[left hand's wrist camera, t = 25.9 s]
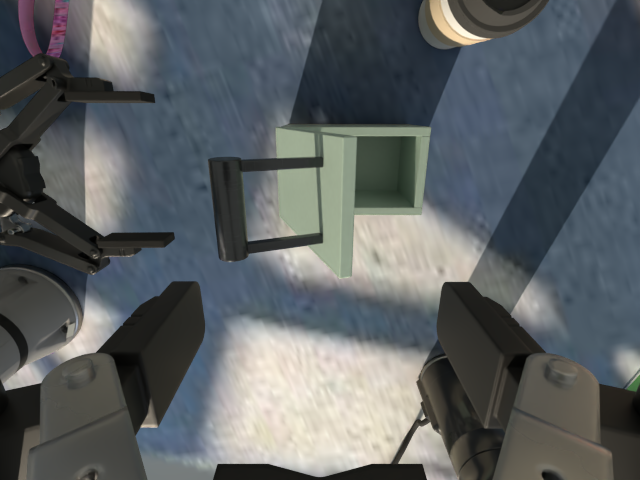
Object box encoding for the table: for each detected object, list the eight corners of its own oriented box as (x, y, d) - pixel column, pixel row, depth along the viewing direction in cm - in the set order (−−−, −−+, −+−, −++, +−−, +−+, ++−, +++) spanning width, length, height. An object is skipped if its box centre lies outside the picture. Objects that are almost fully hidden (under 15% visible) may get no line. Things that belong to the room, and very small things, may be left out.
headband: (37, -49, 38) (21, -58, 36) (73, -33, 38) (60, -41, 36) (28, 53, 41) (13, 50, 39) (62, 66, 42) (49, 64, 40)
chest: (407, 124, 44) (431, 126, 35) (401, 195, 48) (421, 215, 38) (288, 123, 44) (280, 126, 35) (290, 195, 48) (283, 215, 38)
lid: (357, 136, 20) (209, 139, 17) (352, 277, 24) (226, 299, 21) (284, 126, 35) (196, 127, 32) (287, 216, 38) (207, 224, 35)
